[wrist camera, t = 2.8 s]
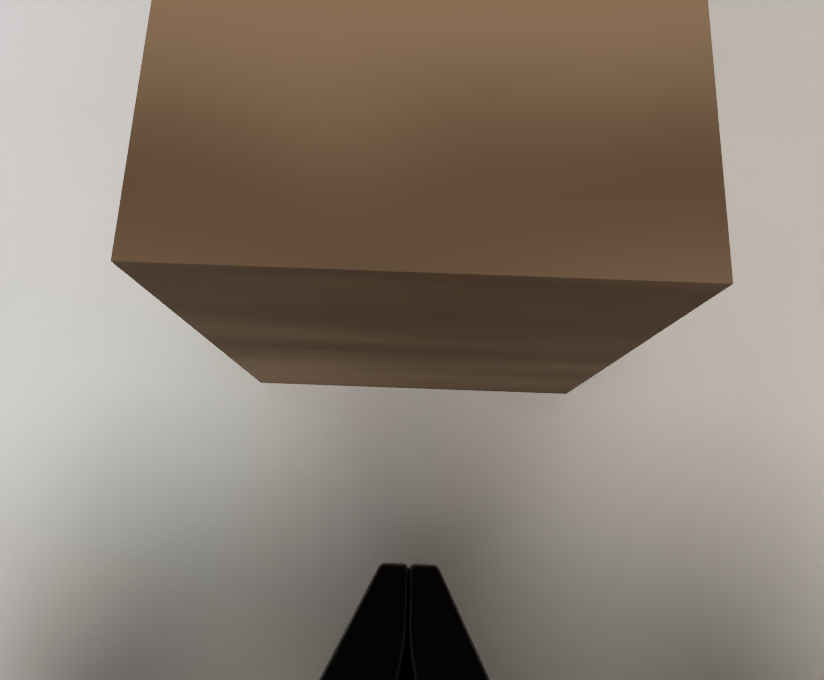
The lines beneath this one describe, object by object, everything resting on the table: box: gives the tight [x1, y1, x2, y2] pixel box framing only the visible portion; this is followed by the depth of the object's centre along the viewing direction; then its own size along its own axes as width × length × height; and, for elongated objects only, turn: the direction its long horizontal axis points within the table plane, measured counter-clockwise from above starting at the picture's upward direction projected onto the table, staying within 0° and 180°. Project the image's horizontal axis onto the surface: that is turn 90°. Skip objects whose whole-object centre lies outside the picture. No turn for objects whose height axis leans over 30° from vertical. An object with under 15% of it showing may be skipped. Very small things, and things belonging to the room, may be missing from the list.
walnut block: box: [111, 0, 733, 394], centre depth 14 cm, size 14×8×9 cm, turn 178°
